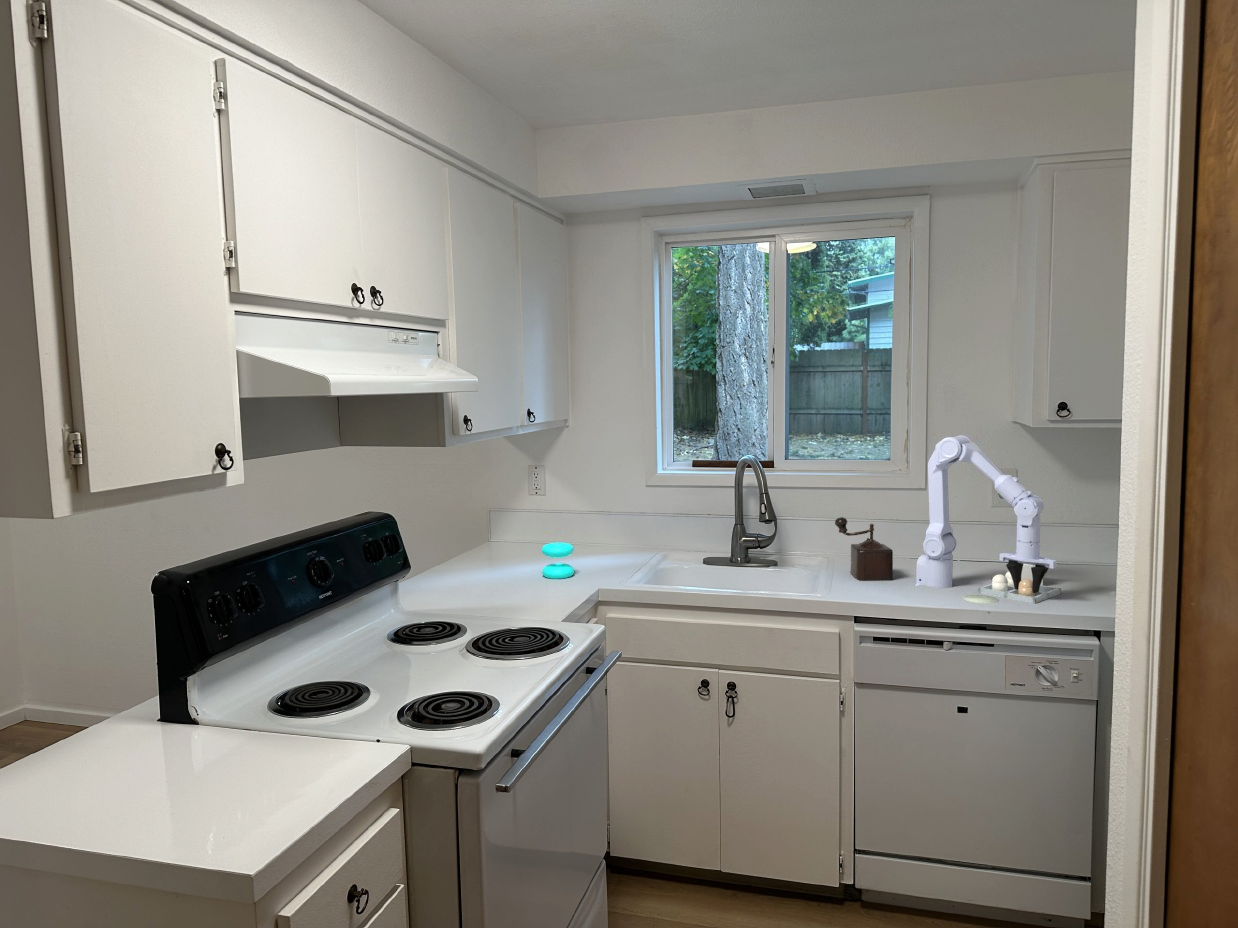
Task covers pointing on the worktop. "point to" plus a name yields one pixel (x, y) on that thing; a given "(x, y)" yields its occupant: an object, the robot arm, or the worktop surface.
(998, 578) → the egg white front
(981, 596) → the saucer
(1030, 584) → the egg brown
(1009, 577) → the egg white back
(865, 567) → the manual coffee grinder
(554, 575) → the cyan oval discs
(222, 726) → the worktop surface
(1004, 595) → the carton
